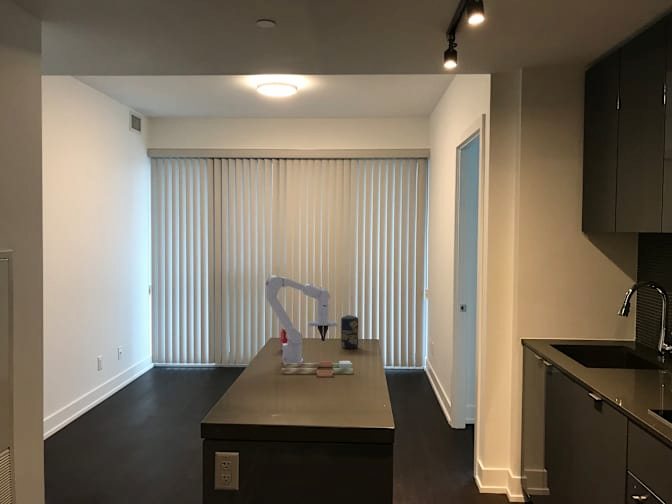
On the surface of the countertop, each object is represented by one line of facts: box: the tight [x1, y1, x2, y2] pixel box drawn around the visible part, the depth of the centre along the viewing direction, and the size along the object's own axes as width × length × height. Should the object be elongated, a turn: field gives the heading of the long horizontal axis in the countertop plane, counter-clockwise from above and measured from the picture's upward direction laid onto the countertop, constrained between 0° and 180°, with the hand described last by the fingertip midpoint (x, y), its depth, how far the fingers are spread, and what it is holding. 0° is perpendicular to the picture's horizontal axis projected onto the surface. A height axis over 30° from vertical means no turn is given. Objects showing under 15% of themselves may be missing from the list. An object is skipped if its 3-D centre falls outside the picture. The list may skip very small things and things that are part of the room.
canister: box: [340, 314, 359, 349], centre depth 272 cm, size 10×10×18 cm
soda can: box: [279, 327, 289, 351], centre depth 267 cm, size 7×7×12 cm
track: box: [281, 362, 354, 375], centre depth 227 cm, size 32×10×2 cm, turn 90°
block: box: [338, 360, 351, 368], centre depth 227 cm, size 5×5×4 cm
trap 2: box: [316, 369, 334, 378], centre depth 219 cm, size 7×4×2 cm, turn 90°
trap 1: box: [317, 361, 334, 368], centre depth 235 cm, size 7×4×2 cm, turn 90°
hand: (323, 340), depth 246 cm, fingers closed
